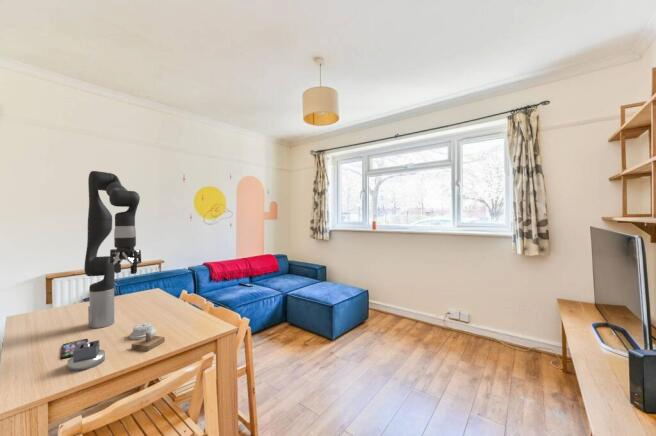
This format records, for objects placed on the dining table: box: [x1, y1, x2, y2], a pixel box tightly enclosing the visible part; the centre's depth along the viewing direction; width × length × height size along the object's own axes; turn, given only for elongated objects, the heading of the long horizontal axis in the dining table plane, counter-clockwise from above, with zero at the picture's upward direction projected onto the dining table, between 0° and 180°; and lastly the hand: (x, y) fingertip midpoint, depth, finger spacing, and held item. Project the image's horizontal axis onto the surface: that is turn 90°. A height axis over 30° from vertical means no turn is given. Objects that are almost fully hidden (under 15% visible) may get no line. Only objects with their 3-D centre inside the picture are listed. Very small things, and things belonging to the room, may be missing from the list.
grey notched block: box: [73, 339, 100, 363], centre depth 96 cm, size 6×6×4 cm
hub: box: [67, 341, 106, 372], centre depth 96 cm, size 10×10×8 cm
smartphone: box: [60, 338, 89, 360], centre depth 107 cm, size 8×1×15 cm
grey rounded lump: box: [129, 322, 158, 341], centre depth 120 cm, size 10×4×10 cm
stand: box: [131, 332, 166, 352], centre depth 110 cm, size 8×8×5 cm
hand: (125, 273), depth 117 cm, fingers open, 8 cm apart
